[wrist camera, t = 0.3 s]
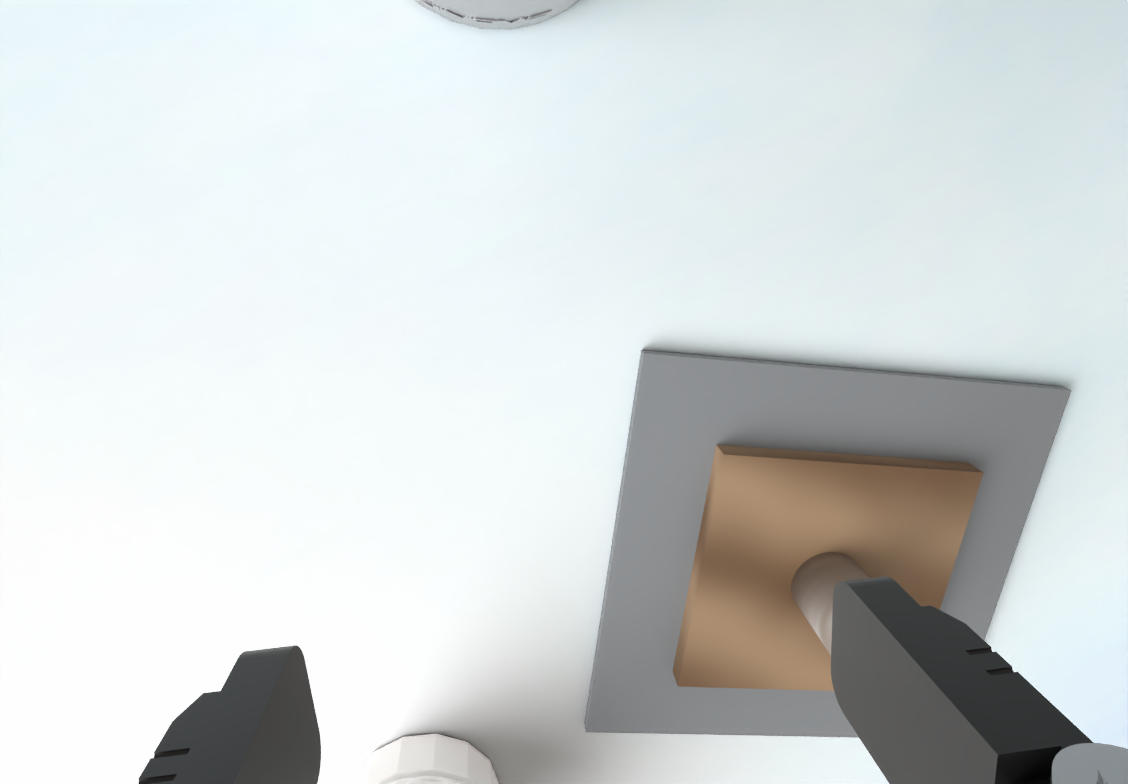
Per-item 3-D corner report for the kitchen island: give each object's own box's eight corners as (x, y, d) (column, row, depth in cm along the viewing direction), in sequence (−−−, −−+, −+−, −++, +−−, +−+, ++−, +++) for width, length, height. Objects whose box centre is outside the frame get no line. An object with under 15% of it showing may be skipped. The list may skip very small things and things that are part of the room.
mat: (641, 349, 28) (643, 353, 28) (1062, 386, 31) (1071, 390, 30) (584, 723, 34) (585, 732, 33) (943, 731, 36) (949, 739, 36)
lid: (716, 444, 29) (775, 524, 23) (968, 462, 31) (1087, 542, 25) (672, 670, 33) (714, 792, 27) (901, 677, 34) (990, 794, 28)
